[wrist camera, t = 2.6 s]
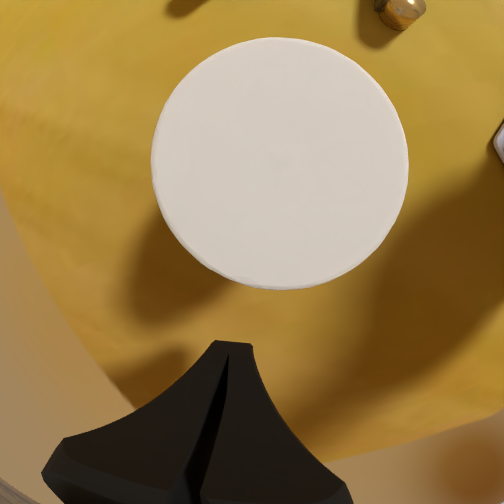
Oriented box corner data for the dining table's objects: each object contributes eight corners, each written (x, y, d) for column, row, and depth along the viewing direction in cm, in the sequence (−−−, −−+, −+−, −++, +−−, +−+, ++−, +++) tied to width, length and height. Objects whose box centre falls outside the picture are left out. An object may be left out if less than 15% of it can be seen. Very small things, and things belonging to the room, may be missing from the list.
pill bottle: (191, 173, 14) (56, 201, 4) (258, 83, 12) (235, -47, 3) (283, 241, 14) (303, 377, 5) (352, 153, 13) (490, 148, 4)
